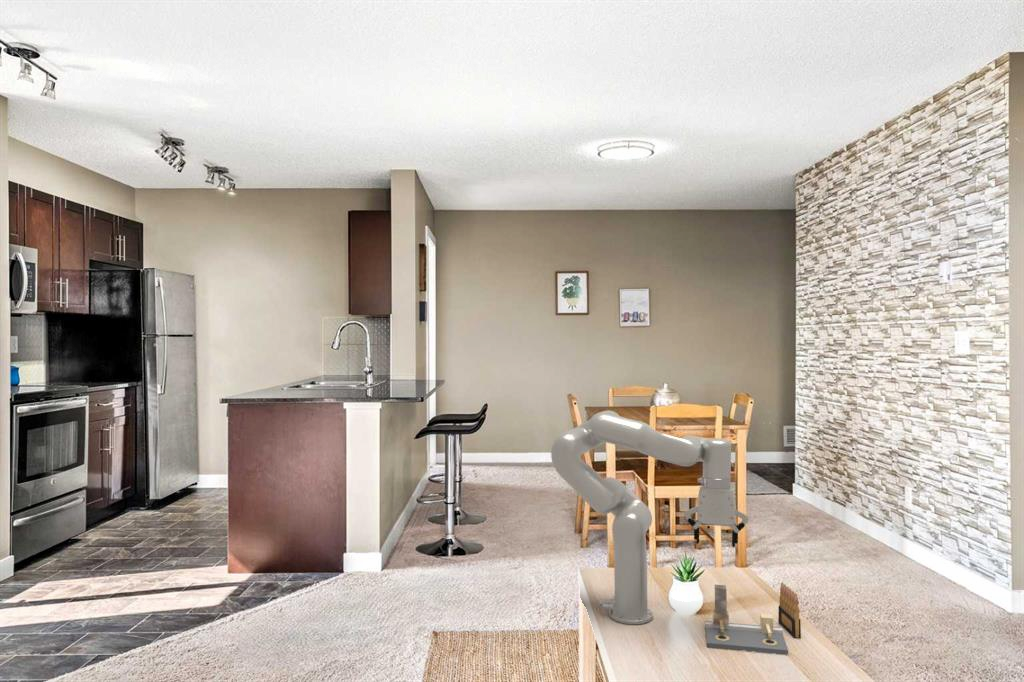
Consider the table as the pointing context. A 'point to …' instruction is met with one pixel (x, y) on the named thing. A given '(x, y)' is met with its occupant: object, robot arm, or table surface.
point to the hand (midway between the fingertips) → (715, 544)
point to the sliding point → (721, 607)
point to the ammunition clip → (789, 611)
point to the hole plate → (748, 636)
